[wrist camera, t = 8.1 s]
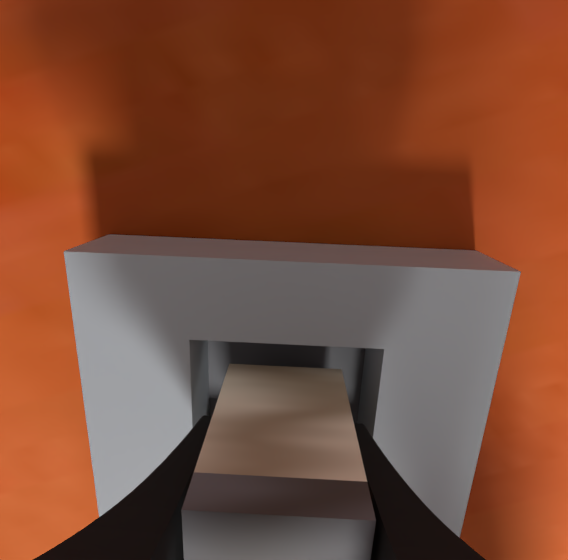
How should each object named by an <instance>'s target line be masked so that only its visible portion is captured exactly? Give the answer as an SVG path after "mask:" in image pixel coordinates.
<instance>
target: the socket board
mask: <svg viewBox="0 0 568 560" xmlns="http://www.w3.org/2000/svg"><path fill="white" fill-rule="evenodd" d="M64 257H65V264H66V272H67V279H68V287H69V294H70V302H71V309H72V317H73V324H74V332H75V339H76V347H77V354H78V362H79V369H80V377H81V384H82V392H83V399H84V407H85V414H86V422H87V429H88V437H89V444H90V452H91V459H92V467H93V474H94V482H95V489H96V497H97V504H98V512H99V517H100V516H102V515H103V514H104V513H106V512H107V511H108V510H110V509H111V508H112V507H113V506H115V505H116V504H117V503H119V502H120V501H121V500H122V499H123V498H124V497H126V496H127V495H128V494H129V493H130V492H132V491H133V490H134V489H135V488H136V487H137V486H138V485H139V484H140V483H142V482H143V481H144V480H145V479H146V478H147V477H148V476H149V475H150V474H151V473H152V472H153V471H154V470H155V469H156V468H157V467H158V466H159V465H160V464H161V463H162V462H163V461H164V460H165V459H166V458H167V457H168V456H169V454H170V453H171V452H172V451H173V450H174V449H175V448H176V447H177V446H178V445H179V443H180V442H181V441H182V440H183V439H184V438H185V436H186V435H187V434H188V433H189V432H190V430H191V429H192V428H193V427H194V425H195V424H196V423H197V422H198V420H199V419H200V418H201V417H202V416H204V415H206V416H212V415H213V412H214V409H215V406H216V403H217V400H218V397H219V394H220V391H221V388H222V385H223V382H224V379H225V376H226V373H227V370H228V367H229V364H247V365H267V366H287V367H307V368H327V369H342V373H343V377H344V382H345V386H346V391H347V395H348V399H349V404H350V408H351V413H352V417H353V421H354V423H362V424H364V425H365V426H366V428H367V429H368V431H369V433H370V434H371V436H372V437H373V439H374V440H375V442H376V443H377V445H378V446H379V447H380V449H381V450H382V452H383V453H384V455H385V456H386V457H387V459H388V460H389V461H390V463H391V464H392V465H393V467H394V468H395V469H396V471H397V472H398V473H399V474H400V476H401V477H402V478H403V479H404V481H405V482H406V483H407V484H408V486H409V487H410V488H411V489H412V490H413V491H414V493H415V494H416V495H417V496H418V497H419V498H420V499H421V500H422V502H423V503H424V504H425V505H426V506H427V507H428V508H429V509H430V510H431V511H432V512H433V513H434V514H435V515H436V516H437V517H438V518H439V519H440V520H441V521H442V522H443V523H444V524H445V525H446V526H447V527H448V528H449V529H450V530H451V531H452V532H454V533H455V534H456V535H457V536H458V537H459V538H460V534H461V530H462V525H463V521H464V517H465V512H466V508H467V503H468V499H469V495H470V490H471V486H472V482H473V477H474V473H475V469H476V464H477V460H478V456H479V451H480V447H481V443H482V438H483V434H484V430H485V425H486V421H487V416H488V412H489V408H490V403H491V399H492V395H493V390H494V386H495V382H496V377H497V373H498V369H499V364H500V360H501V356H502V351H503V347H504V343H505V338H506V334H507V330H508V325H509V321H510V316H511V312H512V308H513V303H514V299H515V295H516V290H517V286H518V282H519V277H520V273H521V272H520V271H518V270H516V269H514V268H512V267H510V266H508V265H505V264H503V263H501V262H499V261H497V260H495V259H493V258H491V257H489V256H487V255H484V254H482V253H480V252H478V251H476V250H456V249H433V248H410V247H388V246H365V245H342V244H319V243H297V242H274V241H251V240H228V239H206V238H183V237H160V236H137V235H115V234H109V235H106V236H103V237H101V238H98V239H95V240H93V241H90V242H87V243H85V244H82V245H79V246H77V247H74V248H71V249H69V250H66V251H64Z"/></svg>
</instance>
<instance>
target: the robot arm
mask: <svg viewBox="0 0 568 560" xmlns="http://www.w3.org/2000/svg"><path fill="white" fill-rule="evenodd" d="M211 418H212V416H206V415H204V416H202V417H201V418H200V419H199V420H198V422H197V423H196V424H195V425H194V427H193V428H192V429H191V430H190V432H189V433H188V434H187V435H186V436H185V438H184V439H183V440H182V441H181V442H180V443H179V445H178V446H177V447H176V448H175V449H174V450H173V451H172V452H171V453H170V454H169V456H168V457H167V458H166V459H165V460H164V461H163V462H162V463H161V464H160V465H159V466H158V467H157V468H156V469H155V470H154V471H153V472H152V473H151V474H150V475H149V476H148V477H147V478H146V479H145V480H144V481H143V482H142V483H140V484H139V485H138V486H137V487H136V488H135V489H134V490H133V491H132V492H130V493H129V494H128V495H127V496H126V497H124V498H123V499H122V500H121V501H120V502H119V503H117V504H116V505H115V506H113V507H112V508H111V509H110V510H108V511H107V512H106V513H104V514H103V515H102V516H100V517H99V518H98V519H96V520H95V521H93V522H92V523H91V524H89V525H88V526H87V527H85V528H84V529H82V530H81V531H79V532H78V533H76V534H75V535H73V536H72V537H70V538H68V539H67V540H65V541H64V542H62V543H60V544H59V545H57V546H56V547H54V548H52V549H51V550H49V551H47V552H46V553H44V554H42V555H40V556H39V557H37V558H35V559H33V560H184V552H183V532H182V512H181V510H182V507H183V504H184V501H185V497H186V494H187V491H188V488H189V485H190V482H191V479H192V476H193V473H194V470H195V467H196V464H197V461H198V458H199V455H200V452H201V449H202V446H203V443H204V440H205V437H206V434H207V431H208V427H209V424H210V421H211ZM354 426H355V430H356V435H357V439H358V443H359V448H360V452H361V457H362V461H363V465H364V470H365V474H366V479H367V483H368V487H369V492H370V496H371V501H372V505H373V509H374V514H375V518H376V525H375V532H374V539H373V546H372V553H371V560H485V559H484V558H483V557H482V556H480V555H479V554H478V553H477V552H475V551H474V550H473V549H472V548H471V547H470V546H468V545H467V544H466V543H465V542H464V541H463V540H462V539H460V538H459V537H458V536H457V535H456V534H455V533H454V532H452V531H451V530H450V529H449V528H448V527H447V526H446V525H445V524H444V523H443V522H442V521H441V520H440V519H439V518H438V517H437V516H436V515H435V514H434V513H433V512H432V511H431V510H430V509H429V508H428V507H427V506H426V505H425V504H424V503H423V502H422V500H421V499H420V498H419V497H418V496H417V495H416V494H415V493H414V491H413V490H412V489H411V488H410V487H409V486H408V484H407V483H406V482H405V481H404V479H403V478H402V477H401V476H400V474H399V473H398V472H397V471H396V469H395V468H394V467H393V465H392V464H391V463H390V461H389V460H388V459H387V457H386V456H385V455H384V453H383V452H382V450H381V449H380V447H379V446H378V445H377V443H376V442H375V440H374V439H373V437H372V436H371V434H370V433H369V431H368V429H367V428H366V426H365V425H364V424H362V423H354Z"/></svg>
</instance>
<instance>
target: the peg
mask: <svg viewBox="0 0 568 560" xmlns="http://www.w3.org/2000/svg"><path fill="white" fill-rule="evenodd" d="M181 512H182V532H183V552H184V560H371V553H372V546H373V539H374V532H375V525H376V518H375V514H374V509H373V505H372V501H371V496H370V492H369V487H368V483H367V479H366V474H365V470H364V465H363V461H362V457H361V452H360V448H359V443H358V439H357V435H356V430H355V426H354V421H353V417H352V413H351V408H350V404H349V399H348V395H347V391H346V386H345V382H344V377H343V373H342V369H327V368H307V367H287V366H267V365H247V364H229V367H228V370H227V373H226V376H225V379H224V382H223V385H222V388H221V391H220V394H219V397H218V400H217V403H216V406H215V409H214V412H213V415H212V418H211V421H210V424H209V427H208V431H207V434H206V437H205V440H204V443H203V446H202V449H201V452H200V455H199V458H198V461H197V464H196V467H195V470H194V473H193V476H192V479H191V482H190V485H189V488H188V491H187V494H186V497H185V501H184V504H183V507H182V510H181Z"/></svg>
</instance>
